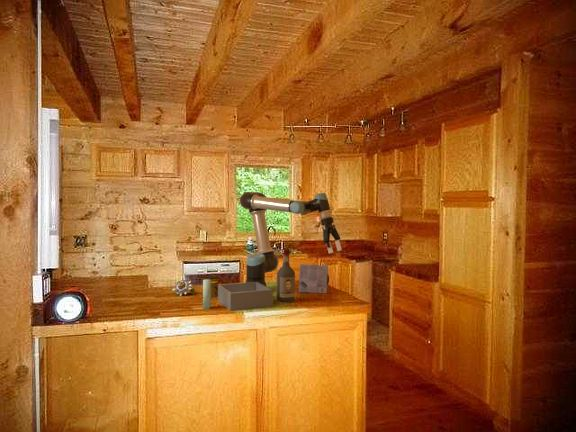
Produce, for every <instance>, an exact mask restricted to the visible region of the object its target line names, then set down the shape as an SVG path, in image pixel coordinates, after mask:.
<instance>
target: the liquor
mask: <svg viewBox="0 0 576 432" xmlns="http://www.w3.org/2000/svg"><path fill="white" fill-rule="evenodd" d="M282 254H283V257H282V259H283V260H282V261H283V262H282V266H281V267H279V268H278V270H277V272H276V299H277V301H278V302H279V301H280V302H279V303H284V302H285V303H293V302H295V301H296V299H295V298H296V297H295V294H296V293H295V292H296V290H295V289H296V273H295V271H294V270H293V268H292V267H291V266H290V248H283V249H282ZM292 301H293V302H292Z"/></svg>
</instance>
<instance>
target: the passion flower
mask: <svg viewBox="0 0 576 432" xmlns="http://www.w3.org/2000/svg"><path fill="white" fill-rule="evenodd" d="M191 283H192V281H191V280H188V281H187V280H186V278H185V277H183V279H181V280H178V281H176V283H175V286H174V288H172V289H171V291H172V292H175V291H176V295H177V296H178V295H179V297H182V295H183V294H184V295H187V293H188V291H190V293H191V295H193V296H194V295H195V293H196V290H195V286H194V283H192V284H191Z"/></svg>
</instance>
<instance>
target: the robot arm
mask: <svg viewBox="0 0 576 432" xmlns="http://www.w3.org/2000/svg"><path fill="white" fill-rule="evenodd" d="M313 197H314V199H311V200H308V201H307V200H306V201H300V200H292V199H286V198H285V199H284V198H276V197H275V198H274V197H267V196H266V195H265V194H264V193H262V192H259V191H257V192H256V191H245V192H243V193H242V194H241V195H240V198H239V205H240V206H241V207H242V208H243V209H245V210H248V213H249V215H250V216H251V218H252V223H253V228H254V235H255V239H256V246H257V252H256V253H255V254H252V253H251V254H250V255H248V256H247V258H246V261H245V262H246V280H245V283H249V282H258V283H260V284H262V285H264V286H266V287H268V286H267V283H266V273H271V272H273V271H275V270H276V269H277V268H278V267H279V259H278V258H279V257H278V256H277V255H276V254H275V252H274V249H272V248H271V247H272V246H271V242H270V236H269V231H268V224H267V221H266V220H267V219H266V212H267V210H268V211H278V212H284V213H285V212H286V213H291V214H295V215H301V216H305V215H309V214H311V213H314V212H318V215H319V219H320V223H321V227H322V237H323V243H324V244H325V245H326V248H327V251H328V254H332V253H333V254H334V251H333V246H332V243H331V236H332V237H333V239H334V243H335V247H336V251H337V252H340V251H342V250H343V249H342V246H341V242H340V240H341V236H340V234H339V232H338V230H337V229H336V225H335V224H334V222H335V221H334V217H332V216H333V214H332V212H333V211H332V210H331V208H330V207H331V206H330V203H329V199H328V196H327V194H326V192H321V193H317V194H315V195H314V196H313Z"/></svg>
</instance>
